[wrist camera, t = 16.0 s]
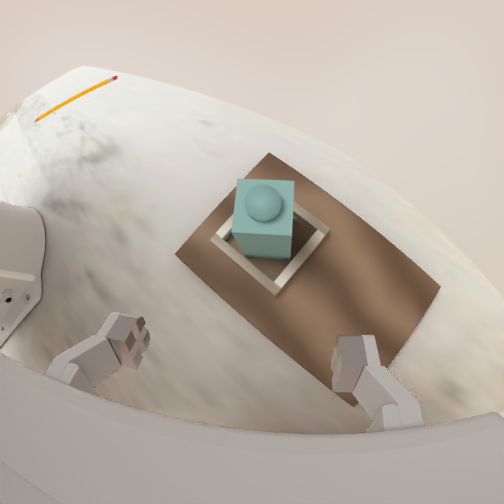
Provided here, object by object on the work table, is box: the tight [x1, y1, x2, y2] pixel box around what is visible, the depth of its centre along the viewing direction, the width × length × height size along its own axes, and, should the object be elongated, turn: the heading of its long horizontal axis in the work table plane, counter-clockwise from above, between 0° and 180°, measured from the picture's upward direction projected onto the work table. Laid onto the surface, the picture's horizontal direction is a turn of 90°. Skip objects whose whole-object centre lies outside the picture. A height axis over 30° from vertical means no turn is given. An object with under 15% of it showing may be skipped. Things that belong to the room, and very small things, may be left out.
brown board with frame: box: [175, 153, 440, 407], centre depth 26 cm, size 14×22×3 cm, turn 49°
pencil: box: [34, 76, 117, 122], centre depth 39 cm, size 1×19×1 cm, turn 101°
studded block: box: [231, 179, 294, 260], centre depth 23 cm, size 4×4×8 cm
